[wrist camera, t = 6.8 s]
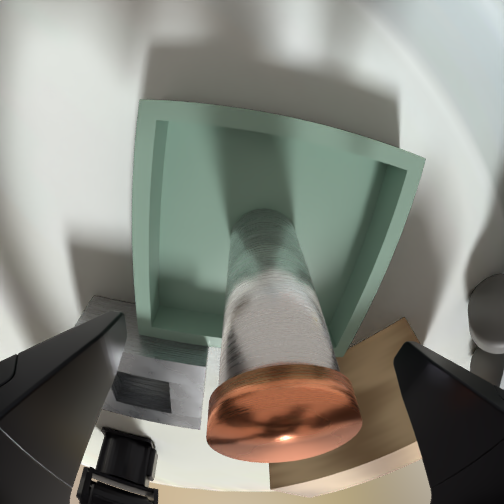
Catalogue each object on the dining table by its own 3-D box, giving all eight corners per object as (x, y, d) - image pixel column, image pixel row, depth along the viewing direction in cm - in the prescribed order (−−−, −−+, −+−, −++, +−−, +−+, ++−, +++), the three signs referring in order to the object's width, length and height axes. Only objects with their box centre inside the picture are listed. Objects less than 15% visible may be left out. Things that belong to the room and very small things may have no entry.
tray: (149, 306, 17) (138, 334, 15) (158, 99, 11) (139, 99, 9) (334, 329, 18) (343, 357, 16) (400, 148, 13) (426, 158, 10)
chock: (299, 412, 24) (310, 497, 16) (264, 386, 21) (270, 489, 13) (418, 354, 20) (457, 439, 13) (404, 316, 18) (457, 418, 10)
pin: (222, 264, 15) (203, 459, 6) (232, 199, 13) (211, 399, 4) (289, 273, 15) (327, 459, 7) (307, 211, 13) (390, 399, 5)
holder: (111, 369, 20) (97, 407, 17) (93, 295, 17) (68, 336, 13) (204, 387, 21) (200, 429, 18) (212, 316, 17) (205, 366, 14)
